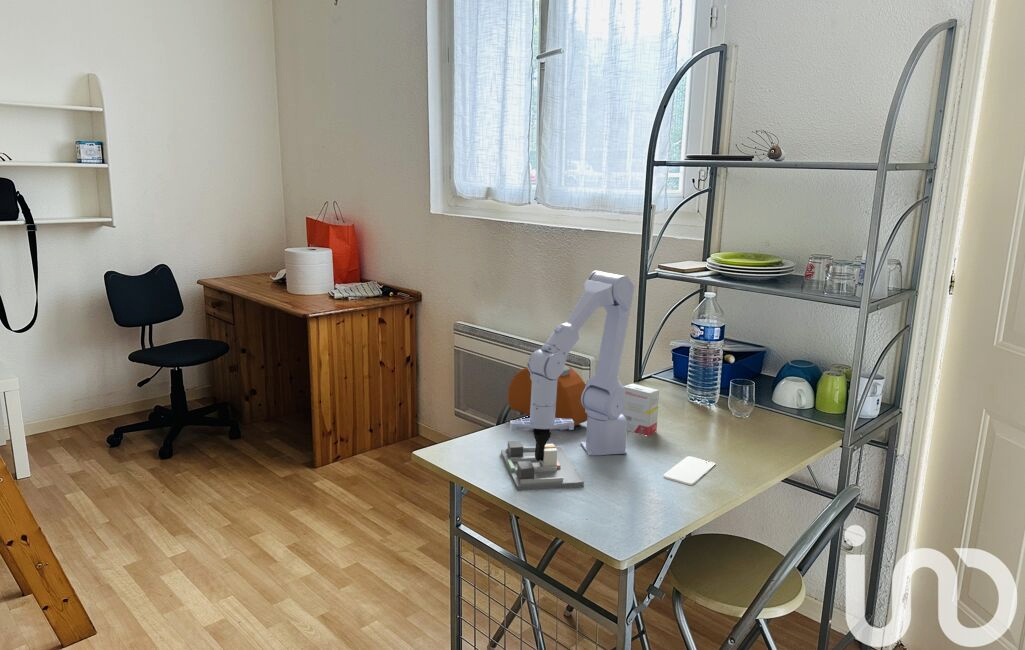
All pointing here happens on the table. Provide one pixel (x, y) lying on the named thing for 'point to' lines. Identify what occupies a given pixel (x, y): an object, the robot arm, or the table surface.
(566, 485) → the breaker board
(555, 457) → the handle
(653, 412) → the ink box
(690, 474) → the smartphone
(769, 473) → the table surface
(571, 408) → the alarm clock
